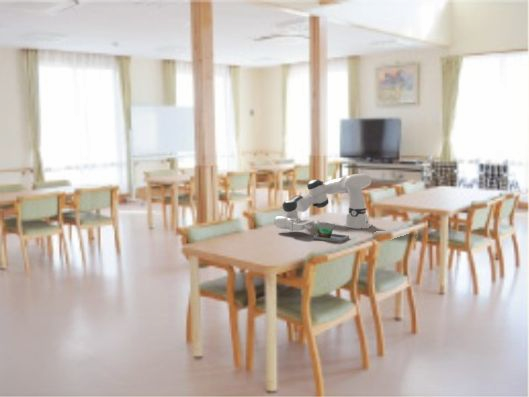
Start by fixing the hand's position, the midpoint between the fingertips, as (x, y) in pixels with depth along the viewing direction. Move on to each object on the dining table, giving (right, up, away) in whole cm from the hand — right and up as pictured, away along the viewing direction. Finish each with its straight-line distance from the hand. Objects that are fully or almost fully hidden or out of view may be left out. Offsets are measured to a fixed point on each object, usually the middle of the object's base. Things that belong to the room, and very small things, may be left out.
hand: (314, 226), depth 356 cm
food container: (+6, -7, -5) cm, 11 cm away
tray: (+11, -8, -5) cm, 14 cm away
